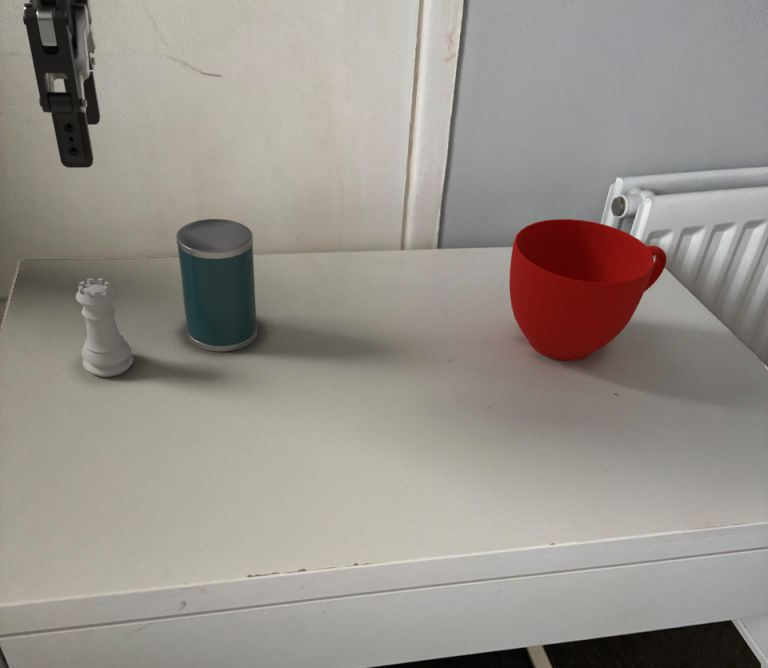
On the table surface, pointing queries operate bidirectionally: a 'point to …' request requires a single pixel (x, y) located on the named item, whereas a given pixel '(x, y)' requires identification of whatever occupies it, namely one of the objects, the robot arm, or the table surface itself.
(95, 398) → the table surface
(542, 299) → the ceramic cup
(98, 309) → the rook chess piece
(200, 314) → the tin can
